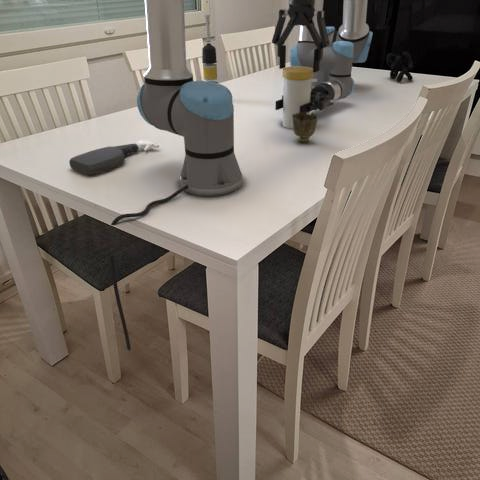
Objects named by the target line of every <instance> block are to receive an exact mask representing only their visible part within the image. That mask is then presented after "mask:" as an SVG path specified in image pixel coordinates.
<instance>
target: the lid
mask: <svg viewBox="0 0 480 480" xmlns="http://www.w3.org/2000/svg"><path fill="white" fill-rule="evenodd" d="M313 73H314V72H313V68H310V67H304V66H292V67H291V66H285V68H282V78H283V79H284V78H286V79H291V80H306V79H311V78H313Z"/></svg>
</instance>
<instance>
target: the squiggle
mask: <svg viewBox="0 0 480 480" xmlns="http://www.w3.org/2000/svg"><path fill="white" fill-rule="evenodd" d="M401 57H402V59H401ZM391 59H392V60H391ZM393 60H394V61H393ZM385 61H386V64H387V67H390V68H391V70H390V72H389V78H390V79H391V80H395V79H396V81H397V82H399V83H400V82H402V81H403V79H404V76H406V78H407V80H408V81H412V80H413V79H414V77H413V75H412V74H411V73H410V72H409V71H410V70H412V69H413V68H414V64H413V61H412V57H411V54H410V53H409V52H408V51H403V53H402V54H401V55H396V54H394V53H392V52H390V53H387V55H386V57H385ZM406 62H407V65H408V66H407V67H405V66H404V65H405V64H406ZM400 70H401V71H400Z"/></svg>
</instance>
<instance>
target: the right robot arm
mask: <svg viewBox="0 0 480 480" xmlns="http://www.w3.org/2000/svg"><path fill="white" fill-rule="evenodd" d="M323 8H324V0H315V4H314V9H315V11H321V10H324V9H323ZM367 12H368V0H343V7H342V13H343V14H342V24H341V25H340V26H339V28H338V30H336V28H335V26H326V29H327V34H328V38H329V43H330V45H329V46H327V47H325V48H323V58H322V60H320V63H319V71H317V72H314V73H313V78H312V81H311V96H310V102H309V103H306V104H304V105H301V106H300V112H303V113H305V112H307V113H308V112H309V113H311V112H313V111H319V112H323V111H325V110H326V109H327V108H328V107H330V106H332V105H334V103H335V102H337V101H339V100H342V99H345V98H347V97H349V96H350V95H352V94H353V93H354V91H355V86H356V84H355V81H354V78H353V77H352V71H353V70H352V69H353V64H359V63H360V64H361V63H365V62H366V61H367V59H368V56H369V51H370V46H371V43H372V39H373V35H374V33H373V31H370V26H369V24H368V23H366V22H367ZM312 20H313V22H314V24H315V28H316V30H317V32H318V34H319V36H320V32H319V28H318V24H317V19H316V17H315V15H314V17H313V18H312ZM320 38H321V37H320ZM316 48H317V47H316V45H315V43H314V41H313V39H312V37H311V35H310V33H309V30H308V29H307V28H306V26H301V25H298V35H297V45H294V46H292V47H291V48H290V53H289V64H290V67H291V66H304V67H310V68H313V63H314V49H316ZM283 95H284V94H282V95H281V99H279V100H275V108H274V109H275V111H279V110H281V109H283Z"/></svg>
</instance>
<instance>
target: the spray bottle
mask: <svg viewBox="0 0 480 480" xmlns="http://www.w3.org/2000/svg"><path fill="white" fill-rule="evenodd" d="M159 148H160V145H159V144H158V143H155V142H151V141H148V140H144V139H139V140H138V141H137V142H135V143H129V144H128V143H126V144H122V145H113V146H105V147H100V148H97V149H94V150H90V151H87V152H83V153H81V154H78V155H74V156H73V157H70V159H69V161H68V162H69V167H70V168H71V169H72V170H74V171H75V172H78V173H81V174H83V175H85V176H89V177H90V176H91V177H92V176H95V175H99V174H102V173H105V172H107V171H110V170H113V169H116V168H118V167H120V166H122V165H123V164H124V163H125V158H126V156H127V155H131V154H133V153H138V151H140V150H143V151H144V152H146V151H147V150H149V149H159Z"/></svg>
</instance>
